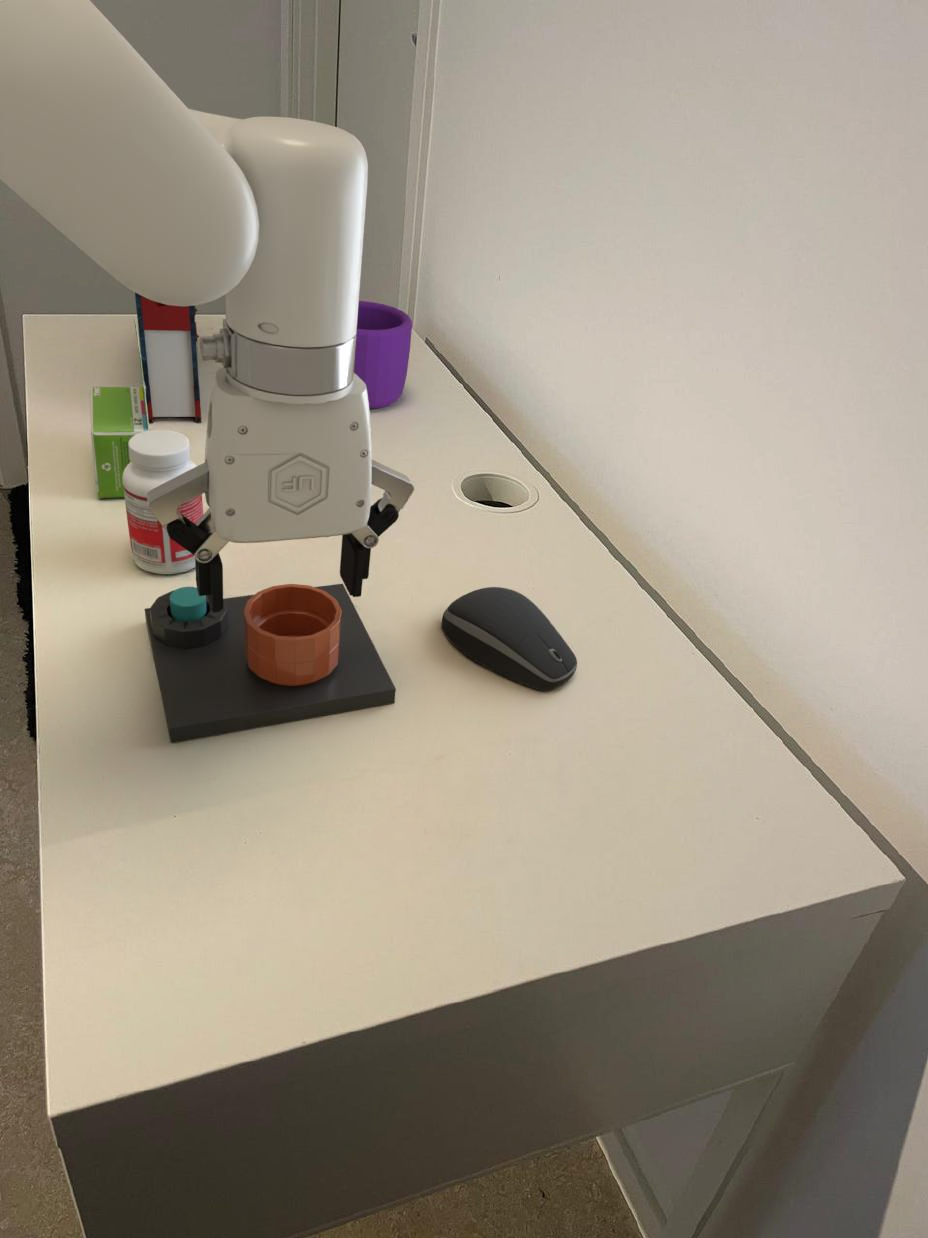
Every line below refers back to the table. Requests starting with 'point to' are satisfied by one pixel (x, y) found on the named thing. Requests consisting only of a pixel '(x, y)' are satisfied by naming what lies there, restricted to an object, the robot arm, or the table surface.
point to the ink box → (115, 431)
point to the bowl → (292, 634)
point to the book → (169, 358)
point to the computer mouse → (509, 637)
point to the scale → (252, 673)
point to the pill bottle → (150, 467)
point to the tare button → (187, 604)
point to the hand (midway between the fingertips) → (284, 593)
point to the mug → (382, 351)
